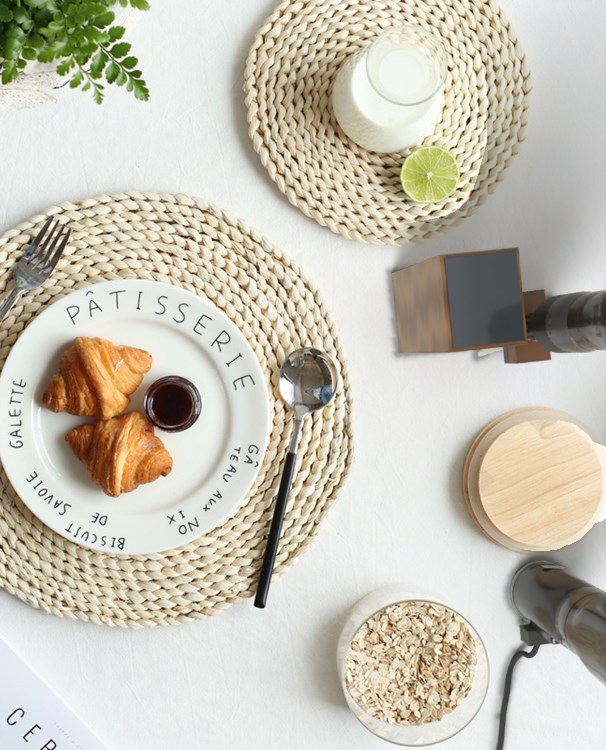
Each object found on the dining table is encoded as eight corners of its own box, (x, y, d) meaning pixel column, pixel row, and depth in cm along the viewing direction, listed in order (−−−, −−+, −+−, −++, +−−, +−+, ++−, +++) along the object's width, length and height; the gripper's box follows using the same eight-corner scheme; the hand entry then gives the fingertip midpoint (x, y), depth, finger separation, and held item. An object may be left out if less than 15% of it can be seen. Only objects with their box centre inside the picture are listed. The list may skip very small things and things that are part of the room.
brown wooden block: (537, 359, 120) (551, 359, 116) (504, 363, 120) (517, 363, 116) (530, 291, 120) (544, 289, 116) (497, 295, 120) (510, 292, 115)
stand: (464, 347, 124) (527, 344, 102) (399, 353, 123) (448, 352, 101) (456, 267, 123) (518, 247, 101) (391, 273, 123) (439, 254, 101)
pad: (523, 340, 102) (525, 340, 101) (452, 348, 101) (453, 348, 101) (515, 251, 101) (516, 251, 101) (443, 258, 101) (444, 258, 100)
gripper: (523, 358, 102) (473, 358, 119) (633, 346, 103) (568, 348, 120) (517, 298, 102) (468, 307, 119) (628, 287, 103) (563, 296, 120)
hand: (518, 327), depth 120 cm, fingers closed on brown wooden block, 5 cm apart
